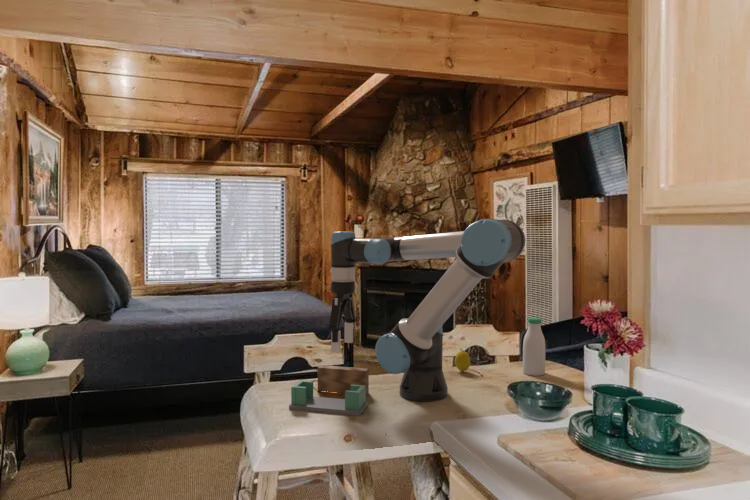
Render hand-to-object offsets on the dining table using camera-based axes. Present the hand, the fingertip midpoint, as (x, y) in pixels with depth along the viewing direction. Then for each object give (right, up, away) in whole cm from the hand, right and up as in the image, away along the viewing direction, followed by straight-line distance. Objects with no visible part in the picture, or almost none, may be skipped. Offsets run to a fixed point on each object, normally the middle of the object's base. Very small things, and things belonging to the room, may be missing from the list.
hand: (342, 347), depth 167 cm
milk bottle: (+68, -14, +23) cm, 73 cm away
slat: (0, -15, +1) cm, 15 cm away
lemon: (+42, -14, +24) cm, 50 cm away
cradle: (-3, -15, -13) cm, 20 cm away
